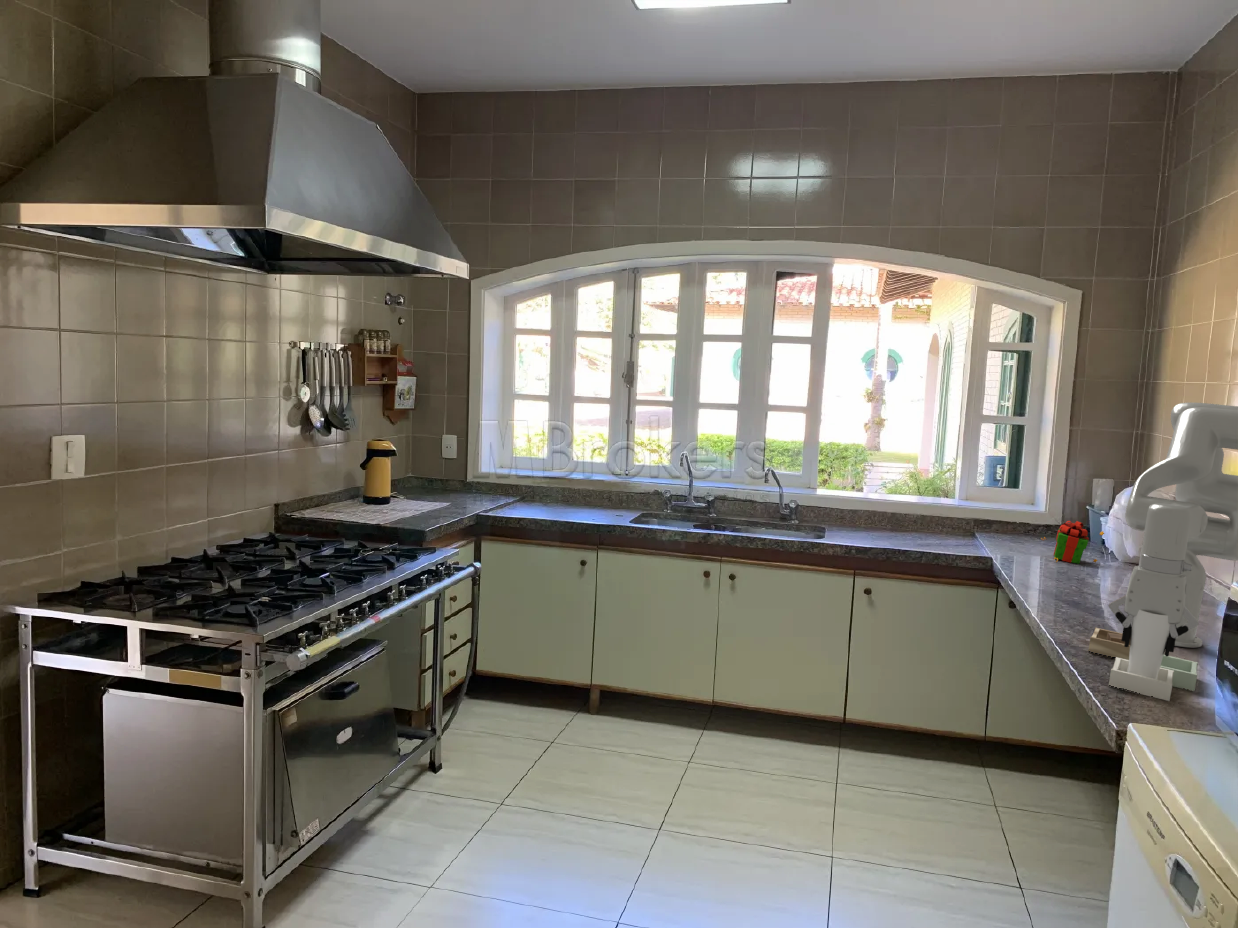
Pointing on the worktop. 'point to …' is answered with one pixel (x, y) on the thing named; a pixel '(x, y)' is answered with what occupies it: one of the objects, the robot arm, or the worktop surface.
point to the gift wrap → (1071, 542)
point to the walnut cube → (1115, 638)
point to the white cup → (1147, 643)
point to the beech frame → (1107, 645)
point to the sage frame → (1181, 671)
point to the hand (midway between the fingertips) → (1146, 649)
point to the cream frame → (1141, 681)
